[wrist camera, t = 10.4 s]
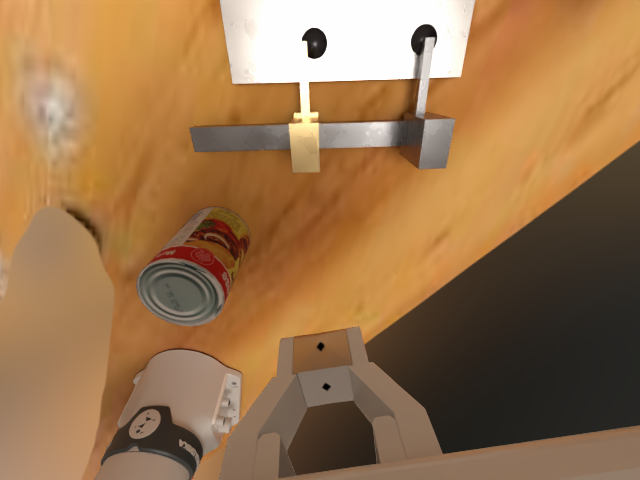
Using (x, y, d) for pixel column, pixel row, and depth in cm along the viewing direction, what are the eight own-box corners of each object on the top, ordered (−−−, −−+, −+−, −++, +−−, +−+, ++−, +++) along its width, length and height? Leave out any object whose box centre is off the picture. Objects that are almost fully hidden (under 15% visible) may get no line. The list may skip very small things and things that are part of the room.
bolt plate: (455, 77, 28) (460, 76, 27) (235, 83, 28) (232, 83, 27) (486, -98, 22) (495, -107, 21) (210, -89, 22) (204, -98, 21)
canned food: (228, 270, 39) (195, 338, 29) (177, 236, 37) (121, 297, 26) (262, 233, 36) (240, 293, 26) (210, 193, 34) (162, 243, 23)
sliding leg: (319, 156, 31) (320, 175, 25) (297, 156, 31) (292, 176, 25) (316, 44, 26) (316, 31, 20) (290, 45, 26) (282, 32, 20)
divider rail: (433, 149, 32) (466, 167, 25) (202, 156, 32) (170, 176, 25) (451, 40, 27) (498, 25, 20) (178, 49, 27) (129, 37, 20)
